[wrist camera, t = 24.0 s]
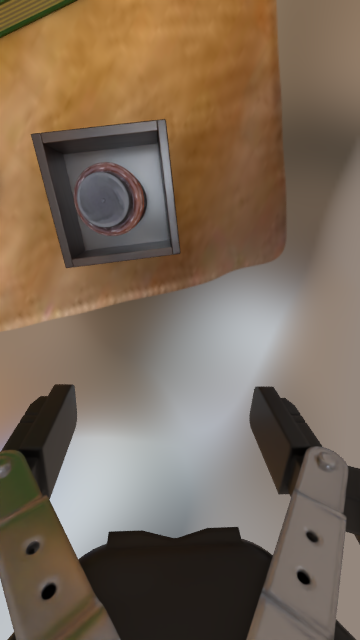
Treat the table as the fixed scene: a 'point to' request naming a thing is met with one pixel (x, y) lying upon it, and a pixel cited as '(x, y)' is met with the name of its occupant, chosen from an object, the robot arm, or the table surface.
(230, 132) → the table surface
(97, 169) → the supplement bottle
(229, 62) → the table surface
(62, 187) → the holder
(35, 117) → the table surface
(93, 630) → the robot arm
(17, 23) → the hardcover book
